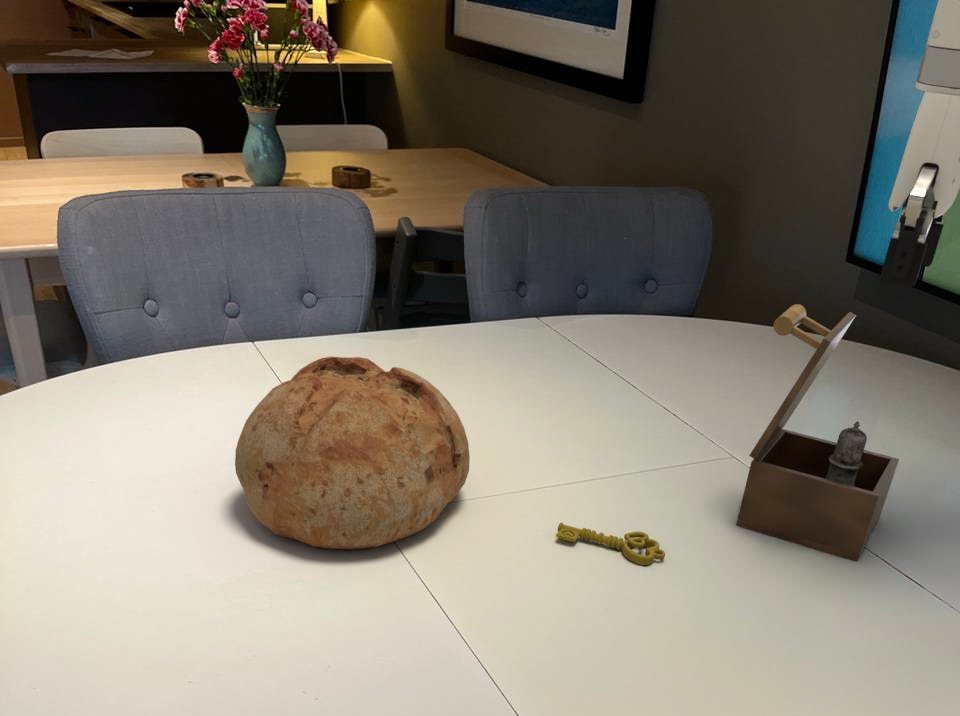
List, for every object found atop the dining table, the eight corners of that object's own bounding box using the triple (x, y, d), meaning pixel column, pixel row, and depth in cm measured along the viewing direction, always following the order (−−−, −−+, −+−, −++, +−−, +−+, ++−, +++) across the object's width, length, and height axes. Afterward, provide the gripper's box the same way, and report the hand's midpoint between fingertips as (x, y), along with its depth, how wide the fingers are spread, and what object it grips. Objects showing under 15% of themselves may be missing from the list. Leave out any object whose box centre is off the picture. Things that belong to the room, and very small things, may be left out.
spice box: (878, 520, 115) (899, 458, 110) (857, 561, 106) (878, 496, 102) (764, 488, 120) (780, 428, 115) (735, 525, 111) (751, 461, 107)
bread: (386, 582, 96) (388, 438, 88) (191, 522, 104) (176, 384, 95) (496, 481, 117) (506, 356, 108) (326, 436, 124) (324, 316, 115)
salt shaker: (843, 539, 109) (875, 437, 102) (793, 521, 111) (821, 420, 105) (861, 521, 113) (894, 421, 106) (812, 504, 115) (841, 406, 109)
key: (552, 530, 105) (567, 511, 108) (550, 540, 105) (566, 521, 109) (660, 560, 101) (672, 539, 105) (658, 570, 102) (670, 549, 106)
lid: (856, 315, 106) (806, 286, 107) (830, 342, 97) (776, 310, 98) (784, 426, 115) (738, 398, 116) (755, 459, 107) (706, 429, 108)
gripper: (935, 63, 94) (883, 250, 104) (902, 75, 82) (847, 286, 92) (1019, 72, 92) (958, 263, 101) (998, 85, 79) (931, 302, 89)
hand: (905, 274), depth 97 cm, fingers open, 9 cm apart
